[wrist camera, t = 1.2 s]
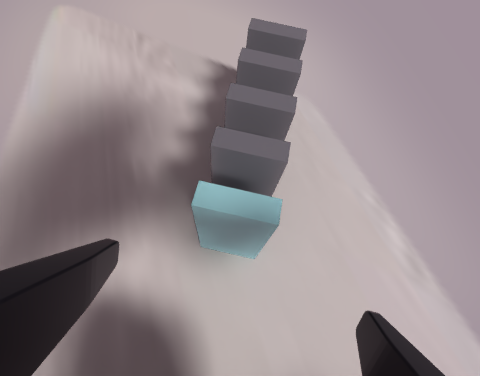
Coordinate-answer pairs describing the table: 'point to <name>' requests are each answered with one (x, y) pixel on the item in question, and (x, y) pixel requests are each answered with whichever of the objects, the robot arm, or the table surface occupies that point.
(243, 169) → the domino
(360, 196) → the table surface
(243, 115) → the domino
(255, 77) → the domino
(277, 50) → the domino
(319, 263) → the table surface
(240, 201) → the domino
